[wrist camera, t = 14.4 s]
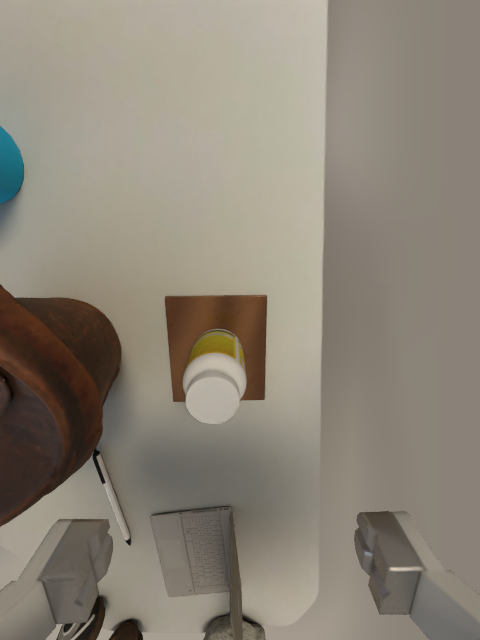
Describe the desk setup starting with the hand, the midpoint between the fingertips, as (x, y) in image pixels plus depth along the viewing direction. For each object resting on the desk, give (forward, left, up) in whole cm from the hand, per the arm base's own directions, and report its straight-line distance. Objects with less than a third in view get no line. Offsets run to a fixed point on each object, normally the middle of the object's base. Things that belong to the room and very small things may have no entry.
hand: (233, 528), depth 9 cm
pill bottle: (+2, +4, -25) cm, 25 cm away
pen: (+18, +27, -25) cm, 41 cm away
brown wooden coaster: (+2, +4, -25) cm, 26 cm away
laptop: (+6, +39, -25) cm, 47 cm away
